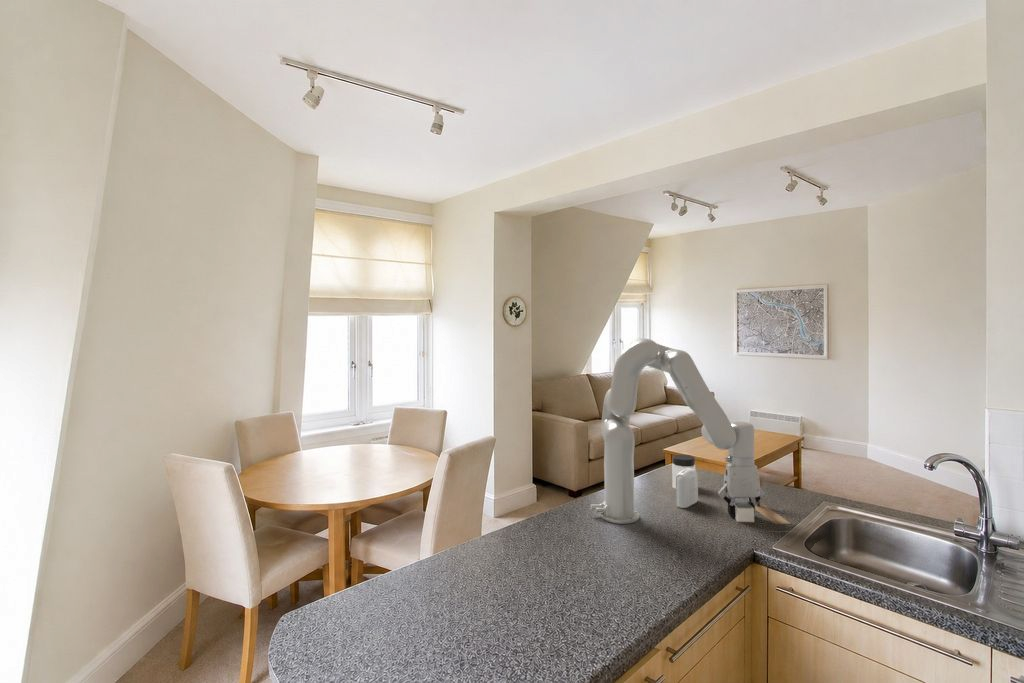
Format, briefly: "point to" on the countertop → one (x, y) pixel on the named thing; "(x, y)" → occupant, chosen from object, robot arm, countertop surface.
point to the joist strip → (771, 515)
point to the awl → (761, 488)
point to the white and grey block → (743, 511)
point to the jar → (681, 465)
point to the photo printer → (686, 488)
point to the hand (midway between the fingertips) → (741, 515)
